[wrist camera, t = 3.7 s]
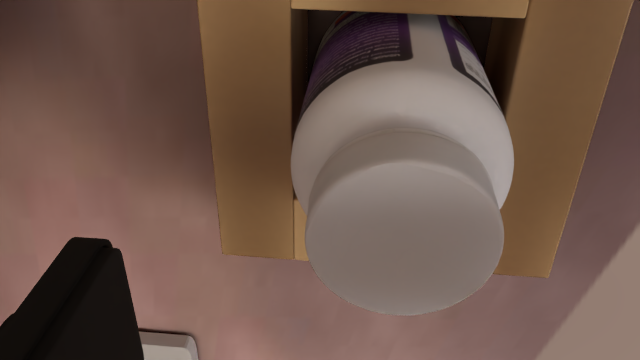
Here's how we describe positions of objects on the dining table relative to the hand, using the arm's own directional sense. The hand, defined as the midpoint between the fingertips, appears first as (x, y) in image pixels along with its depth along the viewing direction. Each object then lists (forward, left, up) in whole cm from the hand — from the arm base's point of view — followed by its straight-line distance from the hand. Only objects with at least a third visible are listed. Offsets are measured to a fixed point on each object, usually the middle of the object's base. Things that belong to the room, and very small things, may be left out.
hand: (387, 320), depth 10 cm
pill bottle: (0, 0, -12) cm, 12 cm away
